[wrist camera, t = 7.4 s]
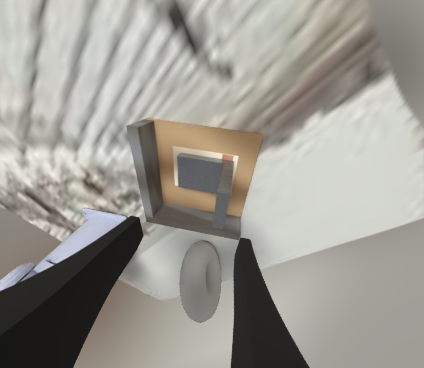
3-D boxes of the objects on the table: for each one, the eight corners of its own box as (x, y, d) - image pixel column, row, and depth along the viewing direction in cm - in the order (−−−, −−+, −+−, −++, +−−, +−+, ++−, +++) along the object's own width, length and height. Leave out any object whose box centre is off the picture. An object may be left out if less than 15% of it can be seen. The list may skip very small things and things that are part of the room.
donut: (226, 263, 29) (219, 336, 20) (209, 263, 30) (196, 333, 21) (209, 226, 24) (191, 302, 16) (189, 228, 25) (162, 300, 17)
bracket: (234, 161, 16) (230, 194, 11) (228, 190, 19) (223, 229, 14) (180, 152, 17) (154, 180, 12) (181, 182, 19) (159, 216, 14)
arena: (239, 218, 22) (238, 240, 19) (159, 203, 23) (146, 221, 20) (262, 134, 15) (267, 146, 12) (147, 118, 16) (126, 125, 13)
